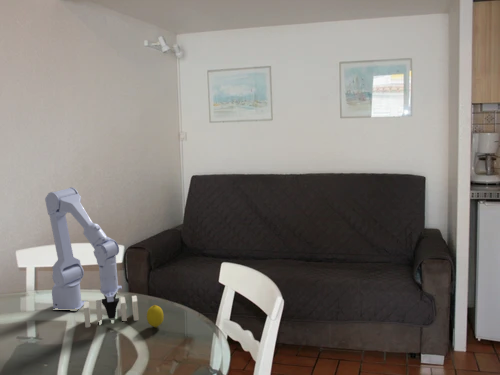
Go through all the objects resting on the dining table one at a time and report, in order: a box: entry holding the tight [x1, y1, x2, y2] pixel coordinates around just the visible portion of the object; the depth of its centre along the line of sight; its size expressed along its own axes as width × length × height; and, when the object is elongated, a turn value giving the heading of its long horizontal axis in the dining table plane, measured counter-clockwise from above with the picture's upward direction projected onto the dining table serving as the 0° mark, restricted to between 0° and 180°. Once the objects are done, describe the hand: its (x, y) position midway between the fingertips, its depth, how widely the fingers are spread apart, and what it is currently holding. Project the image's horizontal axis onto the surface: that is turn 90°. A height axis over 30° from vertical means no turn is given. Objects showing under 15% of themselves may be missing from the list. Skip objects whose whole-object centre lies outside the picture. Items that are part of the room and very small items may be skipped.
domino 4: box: [131, 295, 140, 322], centre depth 185 cm, size 2×5×7 cm, turn 15°
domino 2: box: [95, 299, 103, 323], centre depth 181 cm, size 2×5×7 cm, turn 15°
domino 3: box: [119, 296, 128, 322], centre depth 184 cm, size 2×5×7 cm, turn 16°
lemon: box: [146, 304, 165, 328], centre depth 177 cm, size 6×6×8 cm
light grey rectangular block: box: [83, 301, 92, 328], centre depth 180 cm, size 2×5×7 cm, turn 16°
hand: (111, 313), depth 183 cm, fingers open, 7 cm apart
